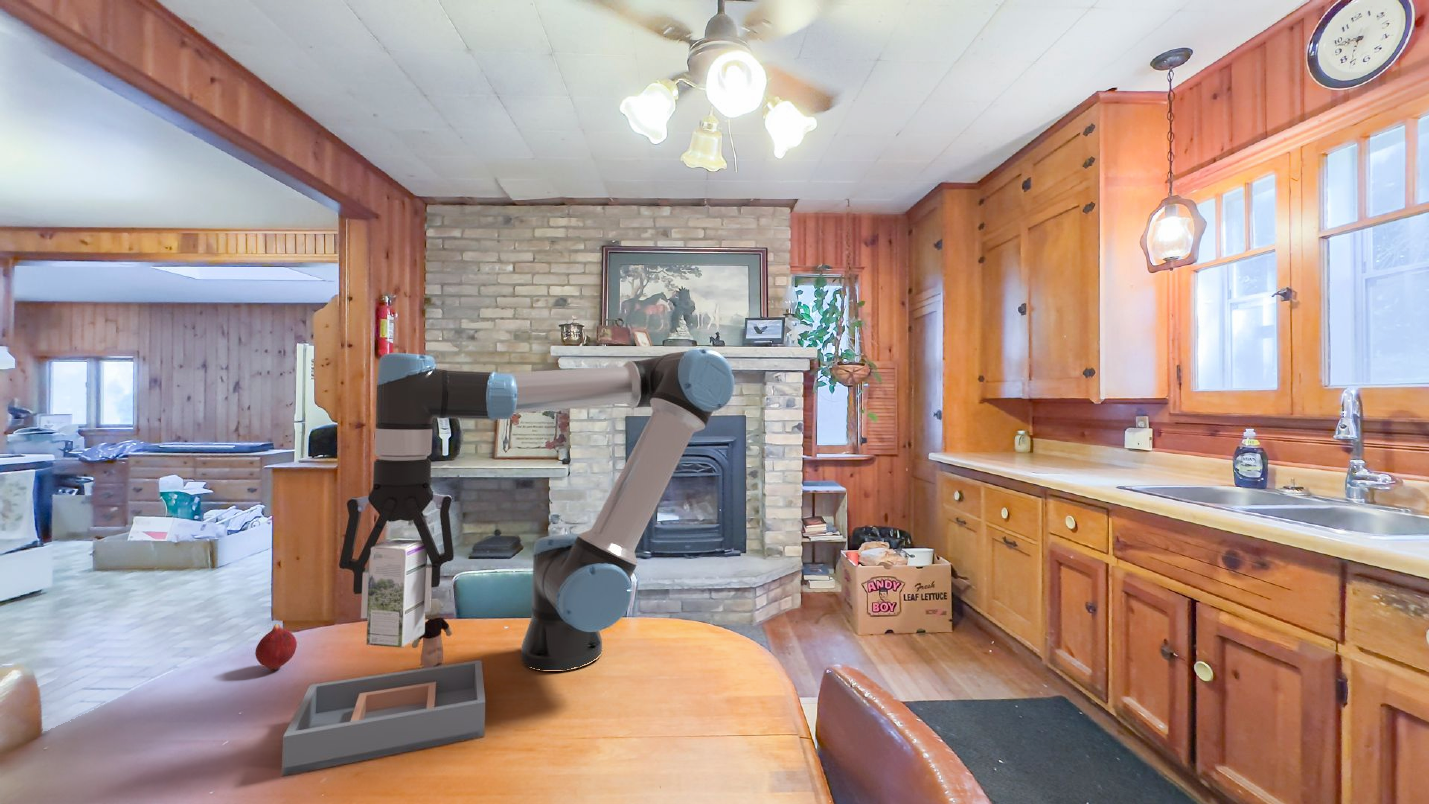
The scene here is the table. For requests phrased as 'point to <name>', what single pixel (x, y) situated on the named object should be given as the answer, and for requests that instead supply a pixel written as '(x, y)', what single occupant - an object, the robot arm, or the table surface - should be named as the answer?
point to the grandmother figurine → (433, 637)
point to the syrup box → (396, 592)
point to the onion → (276, 648)
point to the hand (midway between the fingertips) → (397, 611)
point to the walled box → (384, 716)
